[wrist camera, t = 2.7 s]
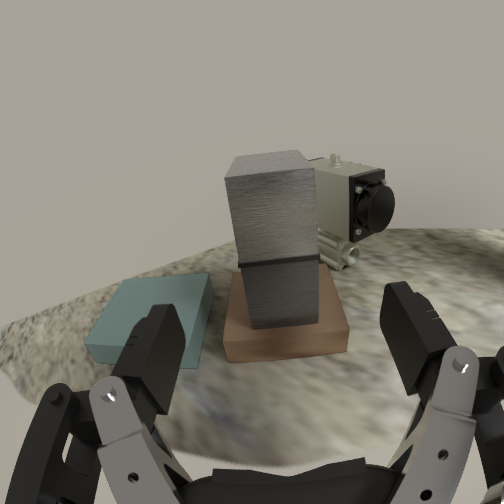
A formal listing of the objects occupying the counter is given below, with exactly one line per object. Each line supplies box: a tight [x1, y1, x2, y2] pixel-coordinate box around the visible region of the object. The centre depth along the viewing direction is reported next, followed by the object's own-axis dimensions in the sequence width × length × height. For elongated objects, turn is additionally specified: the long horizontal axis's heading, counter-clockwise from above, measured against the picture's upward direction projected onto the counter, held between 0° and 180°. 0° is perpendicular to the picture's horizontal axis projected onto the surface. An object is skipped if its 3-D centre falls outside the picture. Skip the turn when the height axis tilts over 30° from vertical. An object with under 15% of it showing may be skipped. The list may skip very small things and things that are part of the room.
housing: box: [224, 150, 320, 330], centre depth 20 cm, size 5×7×11 cm
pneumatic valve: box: [308, 154, 395, 270], centre depth 28 cm, size 6×12×12 cm, turn 29°
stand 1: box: [84, 272, 214, 368], centre depth 24 cm, size 10×10×2 cm
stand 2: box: [222, 263, 349, 363], centre depth 23 cm, size 9×9×2 cm
